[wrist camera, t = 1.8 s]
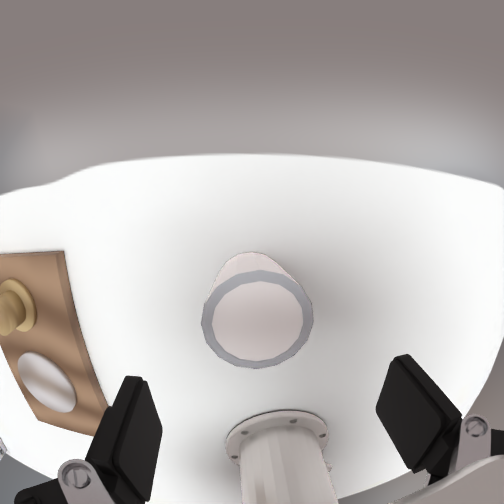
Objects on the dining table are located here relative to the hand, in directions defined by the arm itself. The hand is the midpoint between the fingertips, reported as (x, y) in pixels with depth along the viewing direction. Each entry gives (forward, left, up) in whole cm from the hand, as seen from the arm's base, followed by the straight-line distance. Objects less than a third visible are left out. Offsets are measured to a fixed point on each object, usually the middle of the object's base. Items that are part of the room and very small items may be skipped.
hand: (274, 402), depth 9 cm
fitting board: (+11, +23, -14) cm, 29 cm away
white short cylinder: (0, 0, -14) cm, 14 cm away
